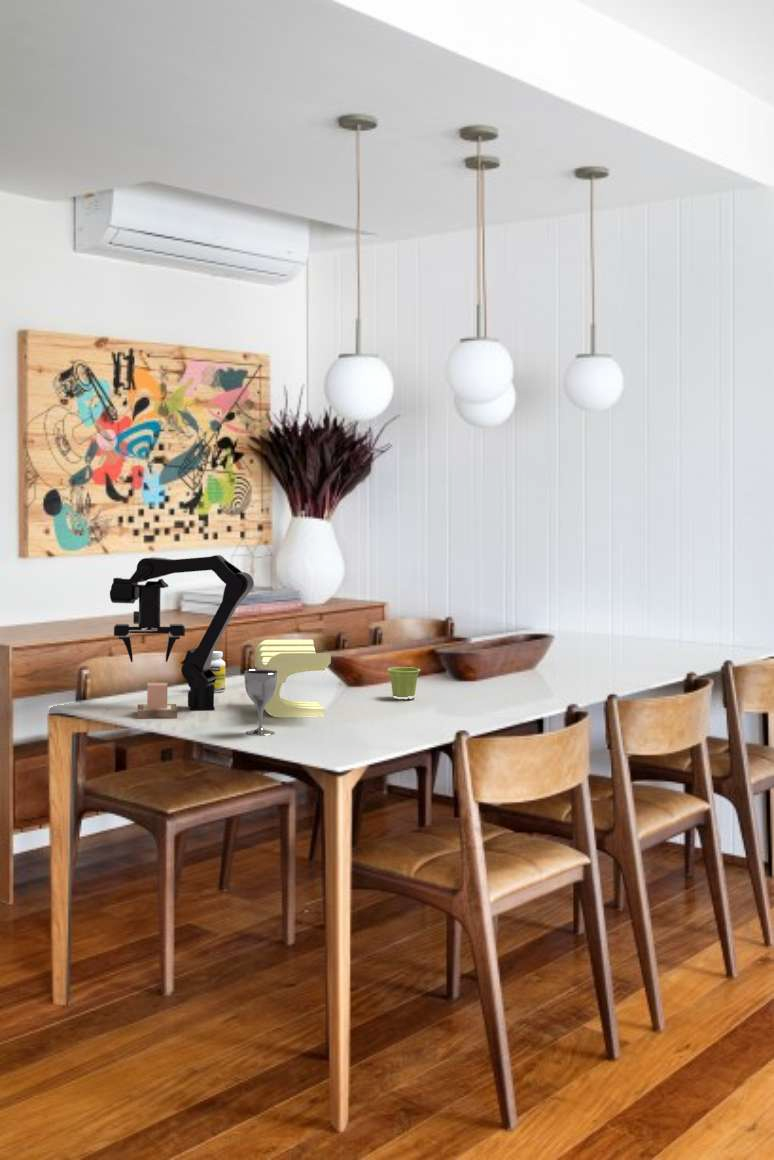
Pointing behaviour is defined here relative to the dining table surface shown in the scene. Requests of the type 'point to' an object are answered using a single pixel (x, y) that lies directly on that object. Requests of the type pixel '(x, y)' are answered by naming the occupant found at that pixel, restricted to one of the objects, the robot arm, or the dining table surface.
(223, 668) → the pill bottle
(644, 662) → the dining table surface
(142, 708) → the walnut plinth
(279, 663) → the slatted curved stool
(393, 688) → the plant pot
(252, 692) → the wine glass
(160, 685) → the terracotta block
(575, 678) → the dining table surface
